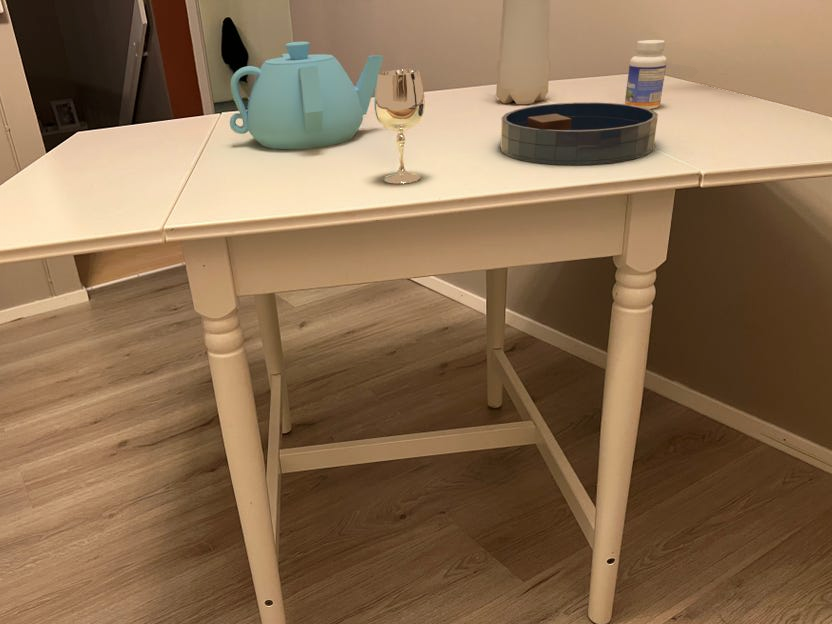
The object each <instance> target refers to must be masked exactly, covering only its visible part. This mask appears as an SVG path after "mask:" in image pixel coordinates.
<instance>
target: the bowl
mask: <svg viewBox="0 0 832 624" xmlns="http://www.w3.org/2000/svg"><path fill="white" fill-rule="evenodd" d="M549 114H558V115H562V116H565V117H568V118H571V119H572V120H571V130H549V129H536V128H529V127H527V121H528V117H533V116H541V115H549ZM658 117H659V114H658V113H657V112H656V111H655V110H654V109H647V108H644V107H639V106H634V105H627V104H625V103H615V102H594V101H593V102H578V101H577V102H560V103H548V104H539V105H534V106H525V107H522V108H518V109H514V110H512V111H508V112H506V113H505V114H503V116H501V118H500V119H501V120H500V121H501V122H500V123H501V124H500V150H501V152H502V153H503V154H504V155H506V156H508V157H509V158H512V159H516V160H519V161H522V162H529V163H535V164H544V165H556V166H591V165H593V166H594V165H605V164H615V163H621V162H626V161H631V160H636V159H639V158H642V157H645V156H646V155H648V154H650V153H651V152H653V150H654V147H655V139H656V133H657V124H658Z"/></svg>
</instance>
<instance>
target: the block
mask: <svg viewBox="0 0 832 624" xmlns="http://www.w3.org/2000/svg"><path fill="white" fill-rule="evenodd" d="M571 120H572V119H571V118H568V117H565V116H562V115H558V114H549V115H541V116H533V117H528V121H527V127H529V128H536V129H549V130H571Z"/></svg>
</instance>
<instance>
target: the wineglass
mask: <svg viewBox="0 0 832 624" xmlns="http://www.w3.org/2000/svg"><path fill="white" fill-rule="evenodd" d="M424 91H425V90H424V86H423V81H422V77H421V73H420V70H418V69H411V68H410V69H407V68H405V69H391V70H384V71H381V72H380V71H379V73H378V76H377V81H376V84H375V88H374V111H375V112H374V113H375V117H376V118H377V121H378V122H379V124H380V125H382V126H383V127H384V128H386V129H389V130H391V131H395V132H397V135H396V145H397V147H398V153H399V155H398V156H399V167H398V170H397V171H396V172H395V173H391V174H388V175H386V176H384V178H383V181H384V182H386V183H388V184H394V185H396V184H397V185H400V184H401V185H402V184H410V183H415V182H418V181H420V180H421V178H422V177H421V175H420V174H418V173H414V172H409V171H407V170H406V168H405V163H404V148H405V143H406V137H405V135H404V131H407V130H410V129H413V128H414V127H416V126H417V125H418V124H419V123H420V121H422V118H423V117H424V113H425V107H426V101H425V92H424Z"/></svg>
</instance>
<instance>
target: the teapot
mask: <svg viewBox="0 0 832 624" xmlns="http://www.w3.org/2000/svg"><path fill="white" fill-rule="evenodd" d="M284 46H285V49H286V51H287V53H281V57H276V58H275V57H274V58H270V59H267V60H265V61H264V62H263V63H262V65H261V67H260V68H259V67H256V66H253V65H247V66H243V67H240V68H239V69H237V70H236V71H235V72H234V73H233V74H232V76H231V79H230V85H229V86H230V92H231V95H232V98H233V100H234V102H235V105H236V108H237V111H238V113H237V112H236V113H233V115H231V116H230V119H229V127H230V130H231V131H233V132H234V133H236V134H239V135H244V134H246V133H249V134H250V135H251V136H252V137H253V138H254V139H255V141H256V142H258V143H259V145H261V146H262V147H265V148H269V149H274V150H306V149H307V150H308V149H315V148H316V149H317V148H322V147H328V146H329V147H330V146H334V145H339V144H342V143H345V142H347V141H349V140H351V139H352V138H353V137H354V136H355V134H356V133H357V132H358V130H359V128H360V127H361V125H362V123H363V120H364V115H367V113H368V110H369V106H370V103H371V100H372V96H373V93H374V91H375V88H376V81H377V76H378V73H380V71H381V67H382V63H383V61H384V55H382V54H381V55H379V54H378V55H368V59H367V61H366V63H365V65H364V67H363V69H362V71H361V74H360V76H359V77H358V80H357V82H356V85H354V83H353V81H352V80H351V78H350V76H349V75H348V73H347V72H346V70H345V69H344V67H343V66H342V64H341V63H340V62H339V60H338V59H337V58H336V57H335V56H334V55H333V54H323V53H321V54H319V53H318V54H309V52H310V47H311V42H309V41H293V42H288V43H285V45H284ZM246 75H254V76H256V78H255V80H254V83H253V85H252V88H251V90H250V93H249V98H248V101H247V108H246V105H245V104H244V101H243V99H242V96H241V93H240V89H239V81H240V79H241V78H242V77H244V76H246ZM238 119H241V120H242V125H241V126H240V125H238V124H237V120H238Z"/></svg>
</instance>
